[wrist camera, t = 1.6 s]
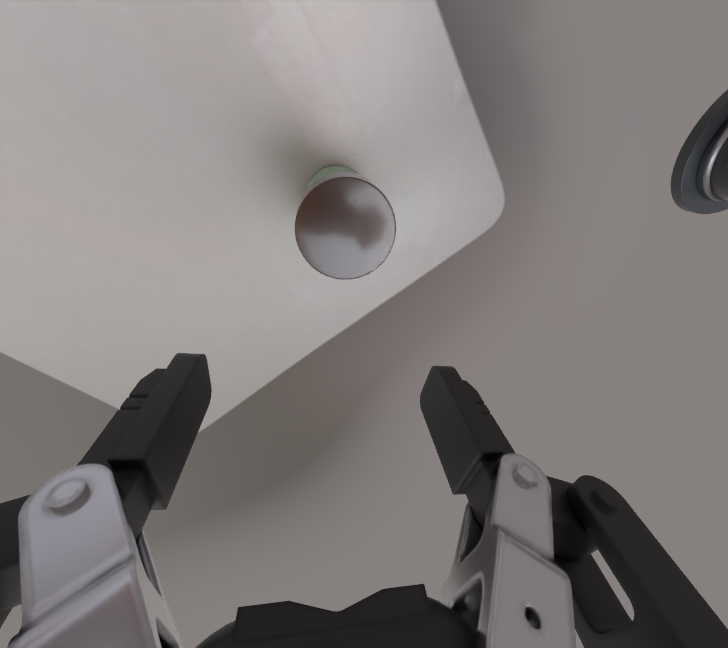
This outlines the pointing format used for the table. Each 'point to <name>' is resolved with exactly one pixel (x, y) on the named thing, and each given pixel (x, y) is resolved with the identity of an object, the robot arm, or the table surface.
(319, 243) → the walnut chip
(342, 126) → the table surface
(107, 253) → the table surface
